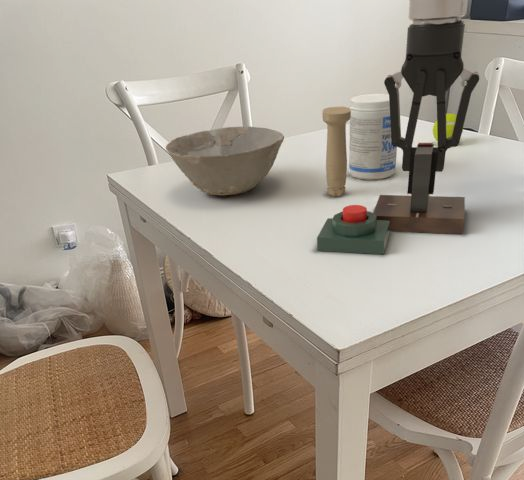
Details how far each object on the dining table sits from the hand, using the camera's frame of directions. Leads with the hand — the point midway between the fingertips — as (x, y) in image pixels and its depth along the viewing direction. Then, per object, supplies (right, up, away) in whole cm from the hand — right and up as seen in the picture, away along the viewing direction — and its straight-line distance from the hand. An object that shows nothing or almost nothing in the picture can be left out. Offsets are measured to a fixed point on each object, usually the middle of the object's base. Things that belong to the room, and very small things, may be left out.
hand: (420, 190), depth 87 cm
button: (-11, -6, -4) cm, 14 cm away
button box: (-11, -9, -2) cm, 14 cm away
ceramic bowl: (-32, +7, +24) cm, 40 cm away
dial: (0, -2, +1) cm, 2 cm away
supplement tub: (-3, +11, +25) cm, 28 cm away
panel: (0, -4, +3) cm, 5 cm away
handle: (-11, +4, +17) cm, 21 cm away
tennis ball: (+18, +23, +40) cm, 49 cm away
